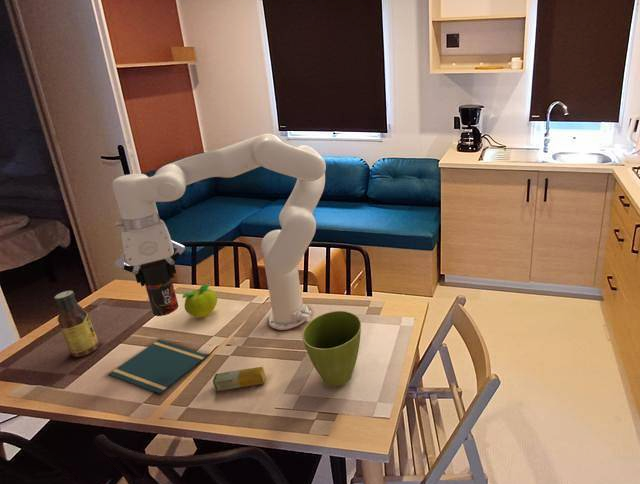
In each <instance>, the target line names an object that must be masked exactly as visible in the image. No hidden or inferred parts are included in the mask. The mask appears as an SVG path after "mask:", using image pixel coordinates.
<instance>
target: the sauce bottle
mask: <svg viewBox="0 0 640 484" xmlns="http://www.w3.org/2000/svg"><path fill="white" fill-rule="evenodd" d="M75 296H76V294H75V292H74V291H73V290H65V291H62V292H59V293H57V294H56V295H55V296H54V297H53V299H54V302H55V303H56V304H57V306H58V310H59V314H58V316H57V322H58V324H59V328H60V330H61V333H62V335H63V338H64V340H65V343H66V345H67V347H68V350H69V352H70V353H71V356H72V357H74V358H81V357H84V356H88V355H89V354H91V353H93V352H95V351H96V350H97V349H98V347H99V340H98V337H97V334H96V332H95V330H94V326H93V324H92V322H91V318H90V316H89V313H88V311H86V309H84V308H83V306H81V305H80V304H79V303H78V301H77V300H76V299H77V298H76V297H75Z"/></svg>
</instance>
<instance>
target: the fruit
mask: <svg viewBox="0 0 640 484" xmlns="http://www.w3.org/2000/svg"><path fill="white" fill-rule="evenodd" d="M210 286H211V283H206V284H203V285H201V286H200V288H196V289H194V290H192V291H189V292H185V293H183V295H182V297H181V298H182V299H185V301H184V310H185V311H186V313H187V314H188V315H190V316H192V317H194V318H205V317H207V316H209V315H210V314H212V313H213V311H214V310H215V308H216V306H217V303H218V294H217V293H216V292H215V291H214V290H212V289H209V287H210Z"/></svg>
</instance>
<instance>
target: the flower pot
mask: <svg viewBox="0 0 640 484" xmlns="http://www.w3.org/2000/svg"><path fill="white" fill-rule="evenodd" d="M361 332H362V322H361V319H360V318H359V317H358V315H356V314H354V313H352V312H349V311H346V310H335V311H329V312H326V313H323V314H320V315H317V316H316V317H315V318H313V319H311V320H310V321H308V323H307V324H306V325H305V327H304V328H303V330H302V334H301V335H302V336H301V337H302V341H303V344H304V348H305V351H306V352H307V355H308V358H309V359H310V361H311V363H312V365H313V367H314V370H315V371H316V372H317V374H318V375H319V377H320V379H322V381H323V383H324V384H325V385H326V386H328V387H330V388H339V387H342V386H345V385H346V384H347V383H348V382H349V381H350V380H351V379H352V376H353V374H354V370H355V367H356V364H357V360H358V355H359V350H360V345H361V344H360V343H361V334H362V333H361Z"/></svg>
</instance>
